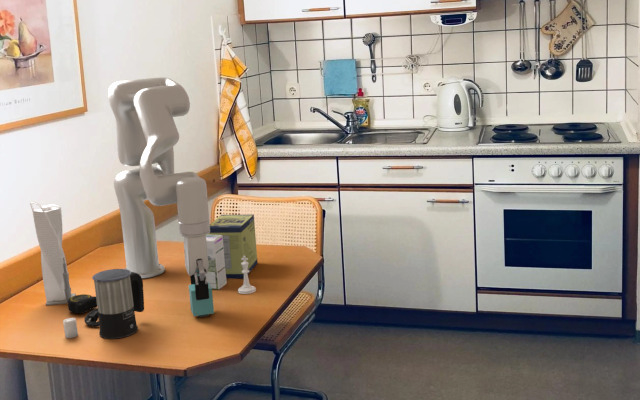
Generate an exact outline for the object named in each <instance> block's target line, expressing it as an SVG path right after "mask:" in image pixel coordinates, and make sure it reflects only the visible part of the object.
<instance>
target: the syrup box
mask: <svg viewBox="0 0 640 400" xmlns="http://www.w3.org/2000/svg"><path fill="white" fill-rule="evenodd" d="M206 242H207V254H208V273H207V274H206V277H207V282H209V283H210V285H211V287H212V290H220V289H222V288H223V287H224V286H225V285H227V282H228V281H227V279H226V271H225V260H224V247H223V236H222V235H206Z"/></svg>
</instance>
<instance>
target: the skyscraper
mask: <svg viewBox="0 0 640 400" xmlns="http://www.w3.org/2000/svg"><path fill="white" fill-rule="evenodd" d="M29 204H30V208H31V210H32V218H33V224H34V228H35V233H36V238H37V242H38V245H39V247H40V248H39V249H40V262H41V265H40V266H41V275H42V281H43V288H44V294H45V299H46V302H45V306H55V305H65V304H67V305H68V299H69V298H71V297H73V296H76V292H75V293H73V292H72V287H71V285H70V277H69V275H70V273H69V271H68V266H67V260H66V255H65V251H64V249H63V218H62V217H63V216H62V207H61V206H60V205H58V204H54V203H50V204H48V205H46V204H45V205H41V204H40V203H39V202H35V201H31V202H30V203H29ZM33 205H36V206H39V208H38V209H34V207H33Z"/></svg>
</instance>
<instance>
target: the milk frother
mask: <svg viewBox="0 0 640 400" xmlns="http://www.w3.org/2000/svg"><path fill="white" fill-rule="evenodd" d="M91 279H92V280H93V282H94V291H95V297H96V300H97V307H96V308H93V309H91V310H90V311H89V312H88V313H87V314H86V315H85V317H84V323H85V324H86V326H88V327H94V328H95V327H99V333H98V334H99V337H101V338H104V339H108V340H109V339H110V340H111V339H114V340H115V339H121V338H122V339H123V338H126V337H129V336H132V335H133V334H135V333H136V332H137V331H138V329H139V327H138V324H137V319H136V314H135V313H136V312H137V313H143V312H144V311H145V299H144V297H145V296H144V294H145V293H144V281H143V278H141V276H140V275H139V274H138V273H135V272H131V271H129V270H127V269H125V268H111V269H106V270H102V271H99V272H97V273H95V274H93V275H92V277H91Z"/></svg>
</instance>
